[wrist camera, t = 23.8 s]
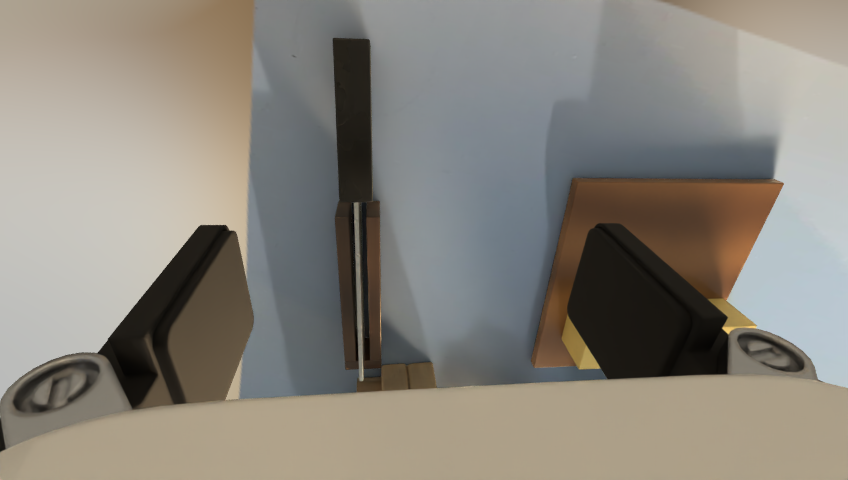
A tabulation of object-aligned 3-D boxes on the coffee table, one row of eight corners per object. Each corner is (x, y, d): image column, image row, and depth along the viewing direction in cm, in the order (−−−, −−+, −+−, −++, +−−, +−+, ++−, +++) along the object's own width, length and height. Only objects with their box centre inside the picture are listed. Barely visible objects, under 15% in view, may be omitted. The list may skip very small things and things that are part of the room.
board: (572, 177, 32) (577, 182, 31) (774, 178, 34) (784, 183, 33) (530, 361, 42) (533, 368, 41) (690, 354, 44) (696, 360, 43)
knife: (376, 350, 35) (375, 380, 31) (350, 351, 35) (346, 382, 31) (371, 50, 28) (369, 39, 24) (339, 49, 28) (332, 37, 24)
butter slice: (570, 301, 37) (590, 330, 34) (601, 300, 38) (624, 329, 34) (560, 338, 39) (578, 369, 36) (590, 337, 40) (610, 368, 36)
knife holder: (338, 200, 31) (334, 217, 29) (379, 200, 32) (379, 216, 29) (347, 346, 38) (345, 370, 36) (381, 344, 39) (381, 368, 36)
